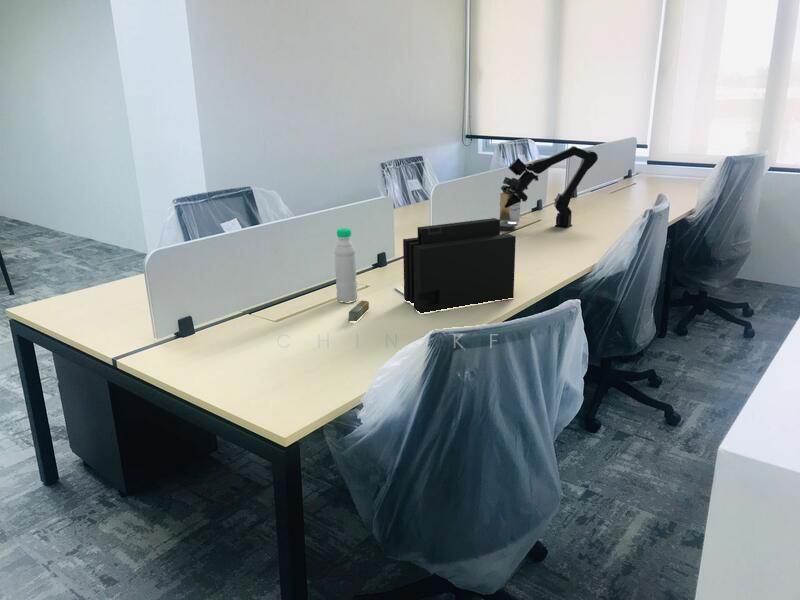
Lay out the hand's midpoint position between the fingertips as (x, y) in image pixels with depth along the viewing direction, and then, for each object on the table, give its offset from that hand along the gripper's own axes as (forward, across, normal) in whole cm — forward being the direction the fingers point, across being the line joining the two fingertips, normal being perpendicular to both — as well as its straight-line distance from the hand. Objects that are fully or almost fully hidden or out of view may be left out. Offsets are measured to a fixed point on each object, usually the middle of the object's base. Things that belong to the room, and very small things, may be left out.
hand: (502, 206), depth 326 cm
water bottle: (+77, +80, -62) cm, 127 cm away
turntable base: (+7, 0, +9) cm, 11 cm away
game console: (+53, +86, -37) cm, 107 cm away
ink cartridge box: (-1, -15, +17) cm, 22 cm away
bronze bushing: (+4, 0, +6) cm, 7 cm away
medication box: (+78, +97, -62) cm, 139 cm away
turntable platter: (+6, 0, +7) cm, 9 cm away
